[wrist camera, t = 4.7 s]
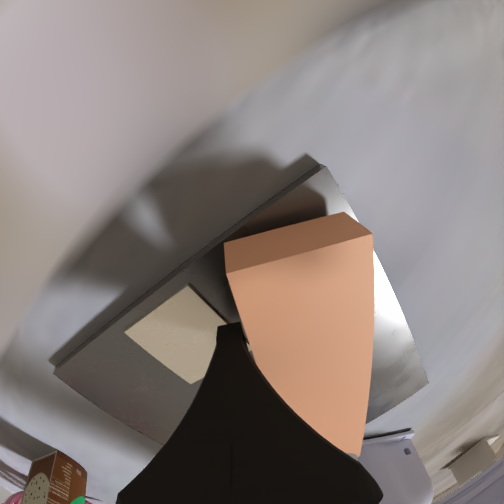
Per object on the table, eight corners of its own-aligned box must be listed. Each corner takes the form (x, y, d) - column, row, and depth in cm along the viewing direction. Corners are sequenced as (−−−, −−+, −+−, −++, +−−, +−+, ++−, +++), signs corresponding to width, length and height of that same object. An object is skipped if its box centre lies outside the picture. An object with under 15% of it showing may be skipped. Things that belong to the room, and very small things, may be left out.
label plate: (320, 163, 10) (328, 167, 9) (425, 378, 16) (430, 385, 16) (56, 365, 12) (51, 376, 11) (242, 471, 19) (243, 479, 18)
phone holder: (445, 468, 36) (473, 527, 20) (482, 438, 33) (516, 498, 17) (470, 458, 41) (494, 505, 25) (500, 432, 38) (528, 479, 22)
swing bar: (348, 440, 17) (361, 473, 14) (294, 457, 16) (303, 491, 14) (341, 209, 9) (387, 245, 7) (223, 240, 9) (227, 290, 7)
